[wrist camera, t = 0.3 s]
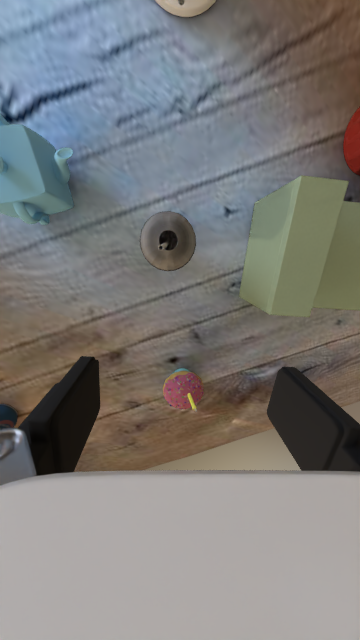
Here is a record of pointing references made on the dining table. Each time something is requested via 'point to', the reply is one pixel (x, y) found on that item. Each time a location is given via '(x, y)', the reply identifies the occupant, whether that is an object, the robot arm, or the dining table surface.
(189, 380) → the cupcake
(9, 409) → the soda can
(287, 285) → the green step stand
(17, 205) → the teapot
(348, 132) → the pot
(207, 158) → the dining table surface
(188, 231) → the beverage cup
